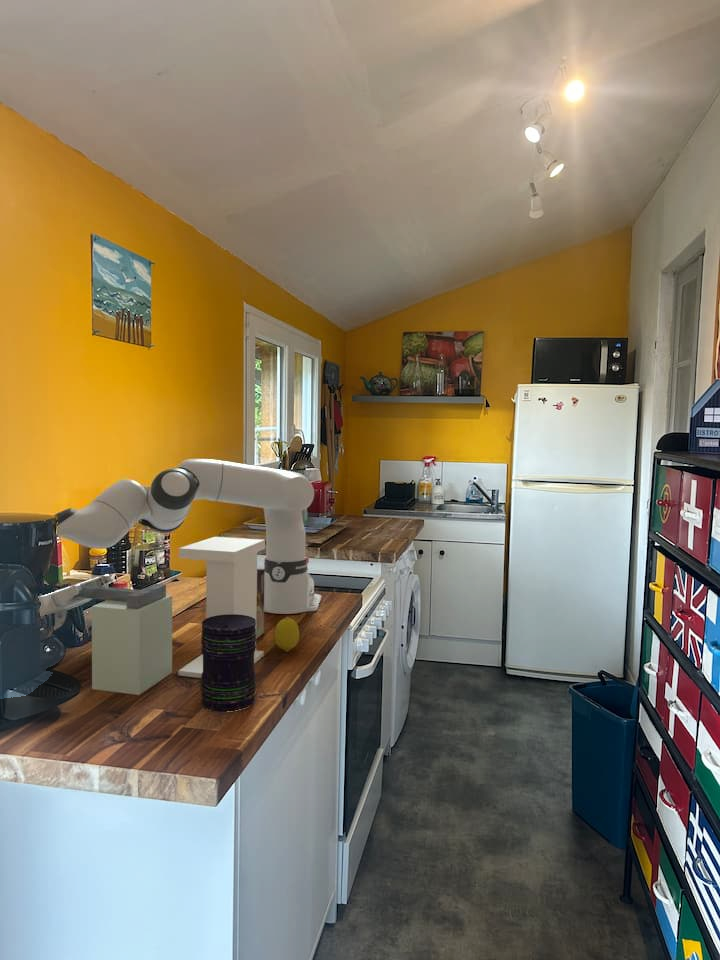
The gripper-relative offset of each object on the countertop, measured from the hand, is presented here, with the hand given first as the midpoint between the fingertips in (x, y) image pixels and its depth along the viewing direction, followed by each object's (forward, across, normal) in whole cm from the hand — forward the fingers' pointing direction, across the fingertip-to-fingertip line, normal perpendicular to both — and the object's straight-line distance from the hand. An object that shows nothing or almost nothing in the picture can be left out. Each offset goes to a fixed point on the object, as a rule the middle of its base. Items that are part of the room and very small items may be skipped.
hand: (94, 582), depth 128 cm
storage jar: (+17, +4, -32) cm, 36 cm away
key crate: (-2, 0, -21) cm, 21 cm away
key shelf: (+9, -13, -27) cm, 32 cm away
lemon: (+18, -25, -32) cm, 45 cm away
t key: (+2, 0, -5) cm, 5 cm away
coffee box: (+7, -32, -26) cm, 42 cm away
